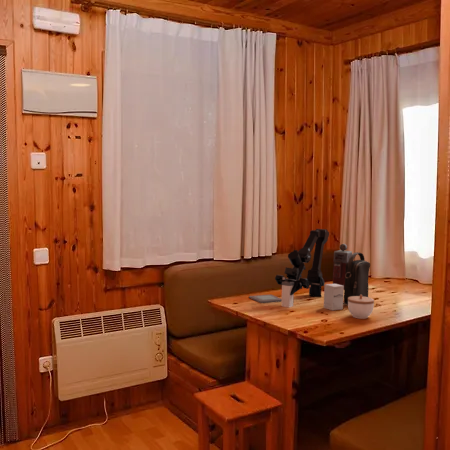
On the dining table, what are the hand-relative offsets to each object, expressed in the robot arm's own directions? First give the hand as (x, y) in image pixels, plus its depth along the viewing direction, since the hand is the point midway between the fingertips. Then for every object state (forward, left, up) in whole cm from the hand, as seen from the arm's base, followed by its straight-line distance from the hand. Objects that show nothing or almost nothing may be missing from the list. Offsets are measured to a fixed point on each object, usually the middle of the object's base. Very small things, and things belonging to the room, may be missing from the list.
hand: (286, 294), depth 277 cm
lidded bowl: (-37, +14, -7) cm, 40 cm away
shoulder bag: (-39, -19, -7) cm, 44 cm away
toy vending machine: (-34, -58, -7) cm, 68 cm away
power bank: (-1, -1, -7) cm, 7 cm away
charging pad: (+11, -14, -7) cm, 19 cm away
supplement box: (-25, -1, -7) cm, 26 cm away
